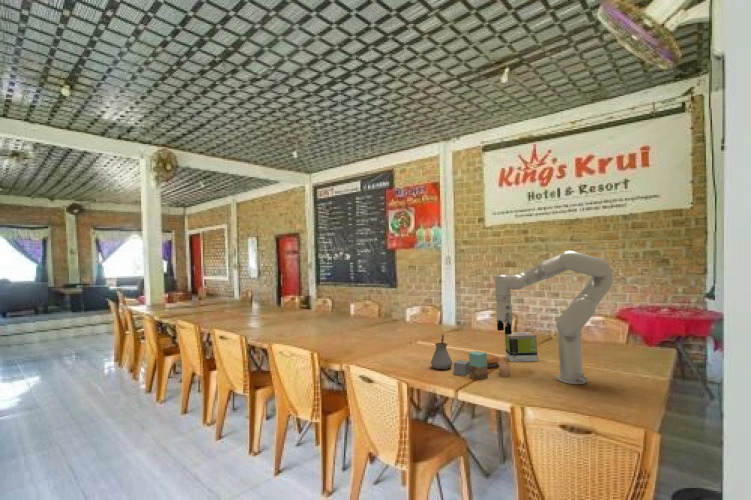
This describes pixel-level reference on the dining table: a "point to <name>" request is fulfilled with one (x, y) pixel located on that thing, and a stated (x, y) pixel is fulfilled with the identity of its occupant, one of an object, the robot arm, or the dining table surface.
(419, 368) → the dining table surface
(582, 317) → the robot arm
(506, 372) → the pink rounded piece
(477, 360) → the tower top
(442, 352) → the coffee pot
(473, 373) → the block
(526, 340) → the tea box
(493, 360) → the pie
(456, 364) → the block
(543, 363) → the dining table surface
